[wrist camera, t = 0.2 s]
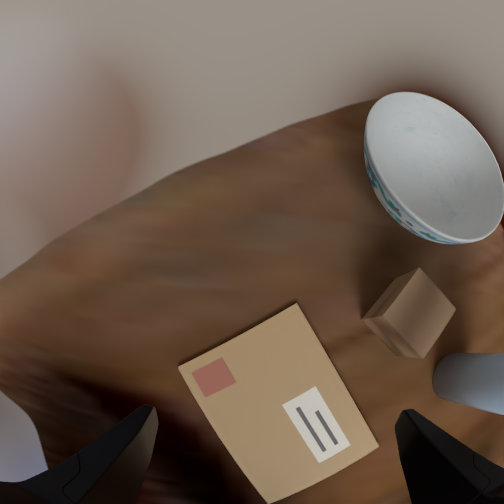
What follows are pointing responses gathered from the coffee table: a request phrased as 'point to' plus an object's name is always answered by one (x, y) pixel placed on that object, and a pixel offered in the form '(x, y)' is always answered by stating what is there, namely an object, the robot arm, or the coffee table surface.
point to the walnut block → (410, 314)
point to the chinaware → (432, 169)
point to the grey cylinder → (472, 380)
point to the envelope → (279, 406)
